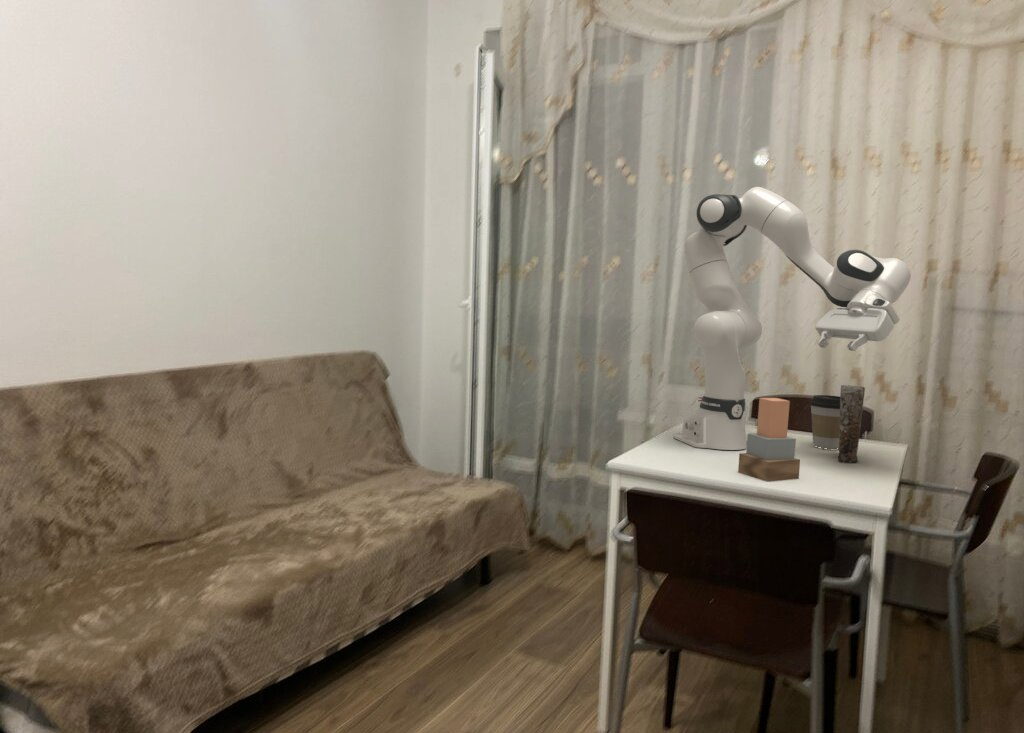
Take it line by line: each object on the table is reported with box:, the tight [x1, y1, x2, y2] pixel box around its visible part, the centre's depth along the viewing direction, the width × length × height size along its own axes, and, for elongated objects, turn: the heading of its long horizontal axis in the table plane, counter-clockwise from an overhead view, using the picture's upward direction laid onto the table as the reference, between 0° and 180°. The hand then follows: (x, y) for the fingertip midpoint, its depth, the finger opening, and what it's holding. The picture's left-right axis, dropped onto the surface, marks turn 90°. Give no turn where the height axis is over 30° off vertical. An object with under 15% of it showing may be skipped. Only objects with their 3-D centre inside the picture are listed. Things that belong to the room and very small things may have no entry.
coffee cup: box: [808, 394, 840, 449], centre depth 233 cm, size 11×11×15 cm
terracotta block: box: [756, 397, 791, 438], centre depth 193 cm, size 5×5×9 cm
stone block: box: [837, 384, 866, 463], centre depth 217 cm, size 13×7×20 cm, turn 162°
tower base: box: [737, 452, 801, 482], centre depth 194 cm, size 10×10×5 cm
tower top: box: [745, 432, 797, 460], centre depth 194 cm, size 8×8×5 cm
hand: (835, 347), depth 201 cm, fingers open, 8 cm apart
